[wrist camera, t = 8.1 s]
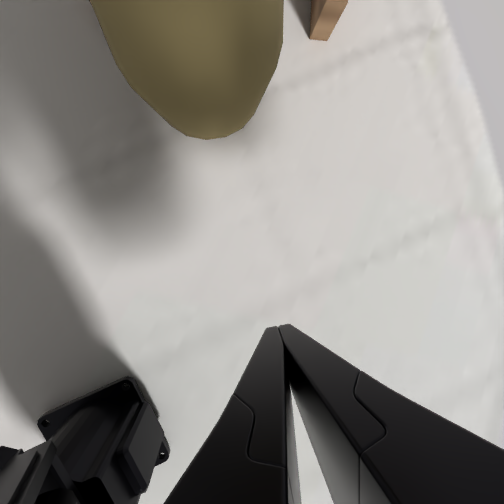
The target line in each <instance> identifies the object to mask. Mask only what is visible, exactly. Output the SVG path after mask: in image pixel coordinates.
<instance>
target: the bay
mask: <svg viewBox="0 0 504 504" xmlns="http://www.w3.org/2000/svg"><path fill="white" fill-rule="evenodd" d="M89 1H90V0H89ZM90 3H91V1H90ZM347 3H348V0H311V19H310V39H314V40H323V41H327V40H328V38H329V37H330V35H331V33H332V31H333V29H334V27H335V25H336V24H337V22H338V20H339V18H340V16H341V14H342V12H343V11H344V9H345V7H346V5H347Z"/></svg>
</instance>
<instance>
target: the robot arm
mask: <svg viewBox="0 0 504 504" xmlns="http://www.w3.org/2000/svg"><path fill="white" fill-rule="evenodd" d="M124 383H127V384H129V385H130V387H126V386H125V385H124ZM290 387H291V389H290ZM291 390H292V393H293V396H294V399H295V401H296V404H297V407H298V409H299V412H300V415H301V417H302V420H303V423H304V425H305V428H306V431H307V433H308V436H309V439H310V441H311V444H312V447H313V449H314V452H315V455H316V457H317V460H318V463H319V465H320V468H321V470H322V473H323V476H324V478H325V481H326V484H327V486H328V489H329V492H330V494H331V497H332V500H333V502H334V504H504V449H502V448H500V447H498V446H496V445H494V444H492V443H490V442H489V441H487V440H485V439H483V438H481V437H479V436H477V435H475V434H474V433H472V432H470V431H468V430H466V429H464V428H462V427H460V426H458V425H457V424H455V423H453V422H451V421H449V420H447V419H445V418H443V417H442V416H440V415H438V414H436V413H434V412H432V411H430V410H428V409H427V408H425V407H423V406H421V405H419V404H417V403H415V402H413V401H411V400H410V399H408V398H406V397H404V396H403V395H401V394H399V393H397V392H395V391H394V390H392V389H390V388H388V387H387V386H385V385H383V384H382V383H380V382H379V381H377V380H375V379H374V378H372V377H371V376H369V375H368V374H366V373H365V372H363V371H360V370H359V369H358V368H356V367H355V366H353V365H352V364H350V363H349V362H347V361H346V360H344V359H343V358H341V357H339V356H338V355H336V354H335V353H333V352H332V351H330V350H329V349H327V348H326V347H324V346H323V345H321V344H320V343H318V342H317V341H315V340H314V339H312V338H311V337H309V336H308V335H306V334H304V333H303V332H301V331H300V330H298V329H297V328H295V327H294V326H292V325H291V324H285V325H280V326H279V327H277V326H274V327H269V328H266V330H265V331H264V333H263V335H262V337H261V339H260V341H259V343H258V345H257V347H256V349H255V351H254V353H253V355H252V357H251V359H250V361H249V363H248V365H247V367H246V369H245V371H244V373H243V375H242V377H241V379H240V381H239V383H238V385H237V387H236V389H235V391H234V393H233V395H232V396H231V398H230V400H229V402H228V404H227V406H226V408H225V409H224V411H223V413H222V415H221V417H220V419H219V420H218V422H217V424H216V425H215V427H214V428H213V430H212V431H211V433H210V435H209V436H208V438H207V439H206V441H205V442H204V444H203V445H202V447H201V448H200V450H199V451H198V453H197V454H196V456H195V457H194V459H193V460H192V462H191V463H190V465H189V466H188V468H187V469H186V471H185V472H184V474H183V475H182V477H181V478H180V480H179V481H178V483H177V484H176V486H175V487H174V489H173V490H172V492H171V493H170V495H169V496H168V498H167V499H166V501H165V502H164V504H301V493H300V483H299V472H298V461H297V451H296V440H295V429H294V418H293V408H292V397H291ZM46 420H48V421H49V422H50V423H48V422H47V421H46ZM37 425H38V427H39V429H40V431H41V433H42V434H43V436H44V438H45V439H46V442H44V443H42V444H40V445H38V446H36V447H34V448H32V449H29V450H27V451H25V452H23V450H22V449H19V450H17V449H13V448H9V447H5V446H0V504H138V502H139V499H140V495H141V494H142V493H144V492H146V491H147V488H148V486H149V483H150V479H151V476H152V473H153V469H154V467H155V466H157V465H159V464H161V463H163V462H165V461H167V459H168V458H169V454H170V448H169V446H168V444H167V442H166V440H165V438H164V431H163V429H162V427H161V425H160V423H159V421H158V419H157V417H156V415H155V413H154V411H153V409H152V407H151V406H150V404H149V403H148V402H146V401H145V399H144V397H143V395H142V393H141V391H140V389H139V387H138V385H137V383H136V381H135V380H134V379H133V378H132V377H129V376H127V377H124V378H121V379H119V380H117V381H115V382H113V383H110V384H108V385H106V386H104V387H102V388H99V389H97V390H95V391H93V392H91V393H88V394H86V395H84V396H82V397H79V398H77V399H75V400H73V401H71V402H68V403H66V404H64V405H62V406H60V407H57V408H55V409H53V410H51V411H49V412H46V413H45V414H43V415H42V416H41V417H40V418H39V420H38V423H37ZM161 452H163V453H164V454H163V455H162V454H160V453H161Z"/></svg>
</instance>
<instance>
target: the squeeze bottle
mask: <svg viewBox="0 0 504 504" xmlns="http://www.w3.org/2000/svg"><path fill="white" fill-rule="evenodd" d="M90 1H91V4H92V6H93V9H94V11H95V14H96V16H97V18H98V21H99V23H100V26H101V28H102V31H103V33H104V35H105V38H106V40H107V43H108V45H109V48H110V50H111V52H112V55H113V57H114V60H115V62H116V64H117V66H118V68H119V69H120V71H121V72H122V74H123V75H124V77H125V79H126V80H127V82H128V83H129V85H130V86H131V88H132V89H133V90H134V91H135V92H136V93H137V94H138V95H140V96H141V97H142V98H143V99H144V100H145V101H146V102H147V103H148V104H149V105H150V106H151V107H152V108H153V109H154V110H155V111H156V112H157V113H158V114H159V115H160V116H162V117H163V118H164V119H165V120H166V121H167V122H168V123H169V124H170V125H171V126H172V127H174V128H175V129H177V130H178V131H180V132H182V133H183V134H185V135H186V136H190V137H195V138H200V139H205V140H208V139H215V138H222V137H227V136H229V135H230V134H232V133H234V132H236V131H238V130H240V129H242V128H243V127H244V126H245V125H246V123H247V122H248V121H249V120H250V119H251V117H252V116H253V115H254V113H255V111H256V109H257V107H258V105H259V103H260V101H261V99H262V97H263V95H264V93H265V90H266V88H267V86H268V84H269V82H270V80H271V78H272V76H273V74H274V72H275V70H276V67H277V63H278V59H279V56H280V52H281V48H282V44H283V4H284V0H90Z"/></svg>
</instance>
